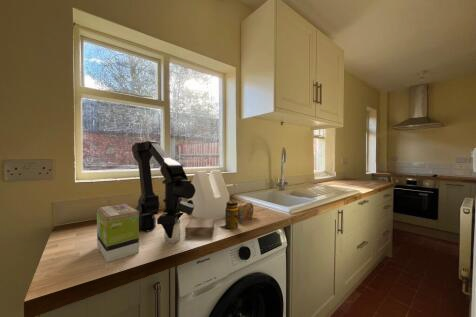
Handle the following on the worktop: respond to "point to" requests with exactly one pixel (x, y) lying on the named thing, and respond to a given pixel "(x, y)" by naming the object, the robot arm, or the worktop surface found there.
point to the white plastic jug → (209, 195)
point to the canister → (174, 234)
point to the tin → (245, 212)
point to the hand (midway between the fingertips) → (172, 234)
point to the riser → (199, 228)
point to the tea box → (117, 231)
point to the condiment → (231, 217)
